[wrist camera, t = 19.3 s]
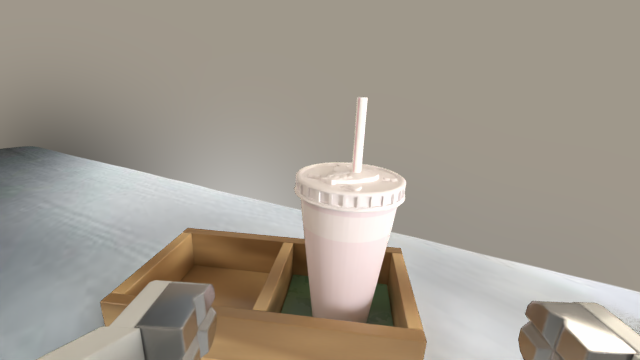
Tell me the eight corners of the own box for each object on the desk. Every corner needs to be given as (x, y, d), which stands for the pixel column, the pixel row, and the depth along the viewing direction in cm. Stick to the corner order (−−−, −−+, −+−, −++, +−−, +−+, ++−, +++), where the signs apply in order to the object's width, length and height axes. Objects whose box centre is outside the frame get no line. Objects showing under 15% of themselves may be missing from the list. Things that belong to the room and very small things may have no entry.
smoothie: (406, 314, 20) (439, 101, 16) (346, 375, 16) (372, 101, 12) (334, 273, 25) (346, 94, 20) (271, 312, 20) (270, 93, 16)
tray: (191, 265, 26) (187, 227, 25) (395, 287, 24) (400, 247, 23) (109, 353, 17) (99, 301, 16) (417, 396, 16) (427, 342, 15)
